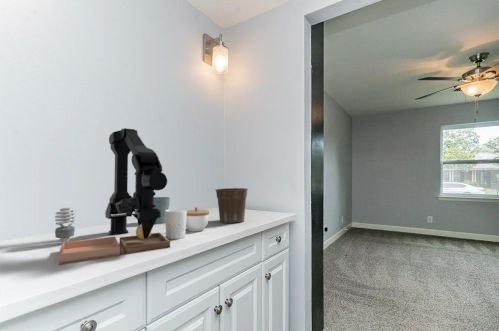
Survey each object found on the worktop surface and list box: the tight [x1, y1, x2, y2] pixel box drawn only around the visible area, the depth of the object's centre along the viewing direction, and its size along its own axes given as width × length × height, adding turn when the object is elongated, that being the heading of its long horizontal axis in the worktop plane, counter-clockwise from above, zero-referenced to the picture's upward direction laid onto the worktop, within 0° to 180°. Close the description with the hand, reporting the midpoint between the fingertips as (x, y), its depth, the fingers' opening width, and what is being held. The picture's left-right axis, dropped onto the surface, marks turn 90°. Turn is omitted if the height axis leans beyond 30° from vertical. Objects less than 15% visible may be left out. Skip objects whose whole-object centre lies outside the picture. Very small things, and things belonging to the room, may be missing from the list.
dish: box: [57, 235, 121, 266], centre depth 75 cm, size 14×14×2 cm
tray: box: [119, 232, 171, 255], centre depth 83 cm, size 14×13×2 cm
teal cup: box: [154, 196, 171, 225], centre depth 124 cm, size 10×10×12 cm
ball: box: [135, 224, 153, 239], centre depth 83 cm, size 5×5×5 cm
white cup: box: [164, 208, 187, 240], centre depth 94 cm, size 8×8×10 cm
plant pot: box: [214, 187, 249, 224], centre depth 127 cm, size 16×16×16 cm
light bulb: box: [54, 207, 76, 244], centre depth 86 cm, size 6×6×12 cm
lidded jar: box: [186, 207, 210, 232], centre depth 107 cm, size 11×11×9 cm
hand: (144, 236), depth 83 cm, fingers closed on ball, 5 cm apart
